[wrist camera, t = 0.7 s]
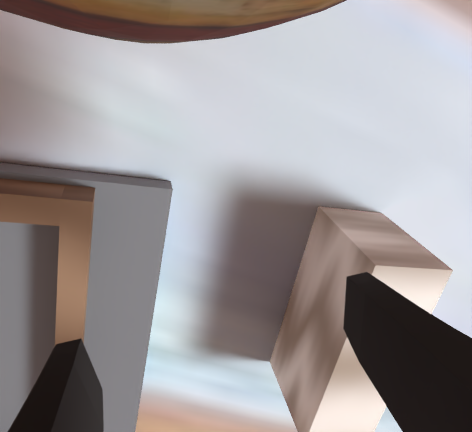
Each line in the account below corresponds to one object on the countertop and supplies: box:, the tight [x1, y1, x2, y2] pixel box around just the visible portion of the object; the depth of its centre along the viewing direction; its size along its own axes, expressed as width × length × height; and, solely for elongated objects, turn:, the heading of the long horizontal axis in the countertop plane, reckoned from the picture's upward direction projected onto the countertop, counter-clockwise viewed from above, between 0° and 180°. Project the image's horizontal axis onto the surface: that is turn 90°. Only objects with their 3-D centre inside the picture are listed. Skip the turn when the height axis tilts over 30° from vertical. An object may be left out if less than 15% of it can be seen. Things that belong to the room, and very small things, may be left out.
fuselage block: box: [270, 206, 453, 432], centre depth 22 cm, size 11×4×6 cm, turn 168°
